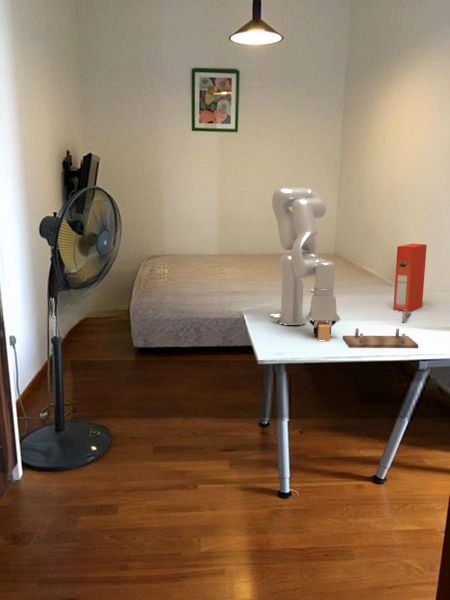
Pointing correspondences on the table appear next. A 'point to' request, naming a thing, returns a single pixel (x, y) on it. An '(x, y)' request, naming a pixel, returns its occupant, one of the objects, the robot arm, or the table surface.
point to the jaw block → (323, 330)
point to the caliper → (405, 315)
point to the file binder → (409, 277)
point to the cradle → (379, 341)
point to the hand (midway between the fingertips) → (322, 335)
